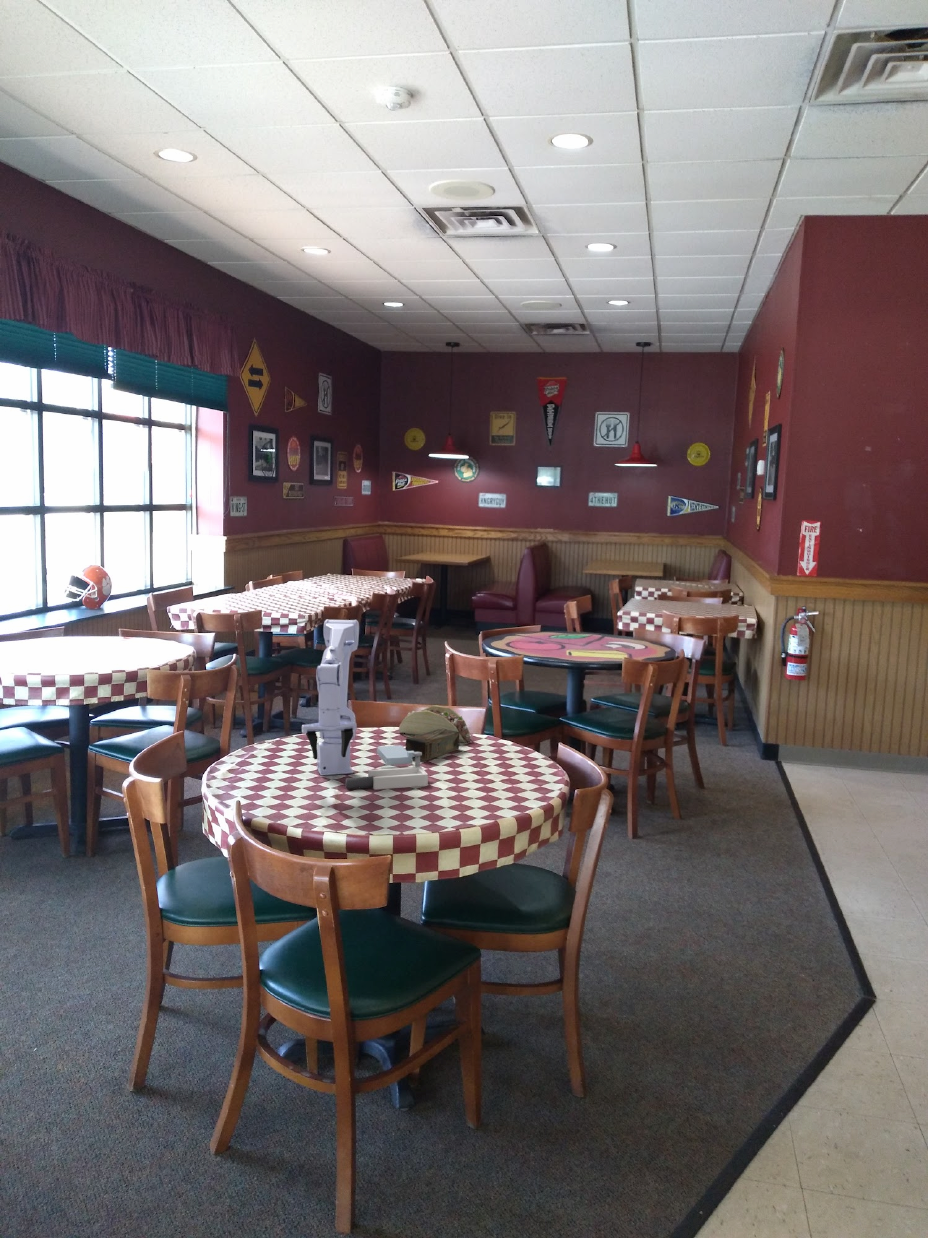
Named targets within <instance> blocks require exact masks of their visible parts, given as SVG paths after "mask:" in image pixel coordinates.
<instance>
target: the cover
mask: <svg viewBox="0 0 928 1238" xmlns="http://www.w3.org/2000/svg"><path fill="white" fill-rule="evenodd" d="M405 748H406V747H404V746H403V745H402V744H401V745H400V744H399V745H386V746H381V745H380V746H376V754H377V755H378V757H379V758H380V759H381V760H382V761H383V763H384V765H386V766H396V765H397V766H398V765H413V759H412V757H415V756H421V755H422V752H414V751H406V750H405Z"/></svg>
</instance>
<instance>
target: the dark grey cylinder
mask: <svg viewBox="0 0 928 1238" xmlns="http://www.w3.org/2000/svg"><path fill="white" fill-rule="evenodd" d="M373 777H376V776H371V777H368V776H361V777H360V776H358V777H347V778H345V789H346V790H355V789H356V790H357V789H368V788H369V789H370V788H372V789H373Z"/></svg>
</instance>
